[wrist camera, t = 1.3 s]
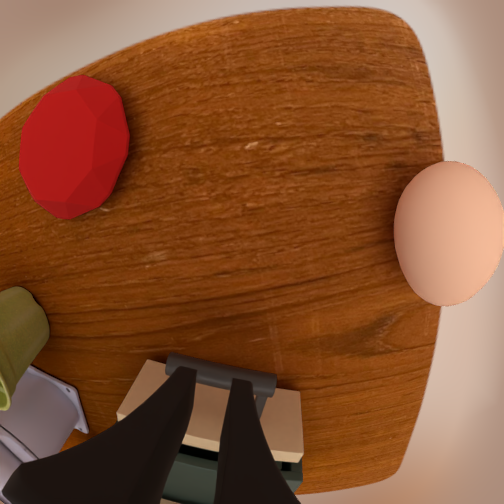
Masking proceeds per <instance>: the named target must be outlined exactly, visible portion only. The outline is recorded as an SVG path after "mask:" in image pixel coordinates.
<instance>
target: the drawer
mask: <svg viewBox="0 0 504 504" xmlns="http://www.w3.org/2000/svg"><path fill="white" fill-rule="evenodd" d="M179 366H184V367H188V368H192V369H196V370H197V378H196V387H195V397H194V406H193V410H192V414H191V418H190V421H189V425H188V429H187V432H186V434H185V437H184V439H183V441H182V444H181V446H180V449H179V451H178V453H182V454H186V455H190V456H194V457H198V458H203V459H207V460H212V461H217V462H218V456H219V445H220V436H221V431H222V426H223V421H224V416H225V411H226V407H227V402H228V398H229V393H230V388H231V384H232V379H233V378H237V379H242V380H247V381H251V382H252V384H253V393H254V399H255V404H256V408H257V413H258V416H259V420H260V423H261V426H262V429H263V432H264V435H265V438H266V441H267V443H268V446H269V448H270V451H271V453H272V455H273V457H274V460H275V462H276V464H277V466H278V468H279V470H280V471H281V469H282V461H284V462H296V463H298V462H299V461H300V459H301V457H302V456H303V454H304V446H303V430H302V414H301V400H300V392H299V391H293V390H286V389H279V388H276V383H277V375H276V374H273V373H267V372H261V371H256V370H250V369H245V368H240V367H235V366H230V365H225V364H220V363H216V362H211V361H207V360H203V359H198V358H194V357H190V356H186V355H182V354H178V353H174V352H170V354H169V356H168V358H167V362H166V364H163V363H159V362H155V361H152V360H149V359H147V361H146V362H145V364H144V366H143V368H142V369H141V371H140V373H139V374H138V376H137V378H136V380H135V381H134V383H133V385H132V386H131V388H130V390H129V392H128V393H127V395H126V397H125V399H124V400H123V402H122V404H121V406H120V407H119V409H118V411H117V418H118V422H119V421H120V420H122V419H123V418H125V417H126V416H127V415H128V414H130V413H131V412H132V411H133V410H135V409H136V408H137V407H138V406H140V405H141V404H142V403H143V402H144V401H145V400H147V399H148V398H149V397H150V396H151V395H152V394H153V393H154V392H155V391H156V390H157V389H158V388H159V387H160V386H161V385H162V384H163V383H164V382H165V381H166V380H167V379H168V378H169V377H170V375H171V374H172V373H173V372H174V371H175V370H176V368H177V367H179Z"/></svg>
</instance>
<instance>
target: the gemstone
mask: <svg viewBox="0 0 504 504" xmlns="http://www.w3.org/2000/svg"><path fill="white" fill-rule="evenodd" d="M129 139H130V134H129V129H128V125H127V121H126V117H125V112H124V108H123V103H122V98H121V96H120V95H119V94H118V93H117V91H116V90H115V89H114V87H113V86H111V85H109V84H106V83H104V82H101V81H98V80H96V79H93V78H90V77H88V76H85V75H79V76H74V77H70V78H68V79H67V80H65V81H64V82H62V83H61V84H59V85H58V86H56V87H55V88H54V89H52V90H51V91H49V92H48V93H47V94H45V95H44V96H43V98H42V99H41V100H40V102H39V103H38V104H37V106H36V107H35V109H34V110H33V112H32V113H31V115H30V116H29V118H28V119H27V121H26V123H25V124H24V126H23V128H22V135H21V144H20V157H19V171H20V173H21V175H22V178H23V180H24V182H25V184H26V186H27V189H28V191H29V192H30V194H31V196H32V198H33V199H34V201H35V202H36V203H37V204H39V205H40V206H41V207H43V208H44V209H45V210H47V211H48V212H49V213H51V214H52V215H54V216H55V217H56V218H61V219H72V218H74V217H77V216H79V215H81V214H83V213H86V212H88V211H90V210H93V209H95V208H98V207H100V206H101V205H102V204H103V203H104V201H105V200H106V199H107V198H108V197H109V196H110V195H111V193H112V191H113V188H114V186H115V183H116V181H117V179H118V176H119V174H120V172H121V169H122V167H123V165H124V162H125V160H126V158H127V156H128V149H129Z"/></svg>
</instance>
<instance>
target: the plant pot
mask: <svg viewBox="0 0 504 504" xmlns="http://www.w3.org/2000/svg"><path fill="white" fill-rule="evenodd" d="M49 334H50V329H49V324H48V320H47V317H46V315H45V312H44V311H43V309H42V307H41V306H39V305H38V304H37V303H36V302H35V300H34V299H33V297H32V294H31V293H30V292H29V291H27V290H26V289H24V288H22V287H19V286H15V287H12V288H9V289H7V290H4V291H2V292H0V410H3V411H7V410H8V409H9V408H10V406H11V402H12V400H11V397H12V396H13V394H14V392H15V390H16V385H17V383H18V382H19V380H20V379H21V377H22V376H23V374H24V373H25V371H26V370H27V368H28V367H29V366H30V364H31V363H32V361H33V360H34V359H35V357H36V356H37V354H38V353H39V352H40V350H41V349H42V348H43V346H44V345H45V344H46V342H47V340H48V338H49Z"/></svg>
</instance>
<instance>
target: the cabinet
mask: <svg viewBox="0 0 504 504" xmlns="http://www.w3.org/2000/svg"><path fill="white" fill-rule="evenodd" d="M116 423H118V420H117V422H116ZM116 423H115V424H116ZM217 467H218V462H217V461H212V460H207V459H203V458H198V457H194V456H190V455H186V454H182V453H178V454H177V456H176V458H175V461H174V463H173V466H172V468H171V471H170V473H169V475H168V478H167V481H166V484H165V487H164V490H163V494H162V499H165V500H169V501H173V502H176V503H180V504H213V502H214V497H215V489H216V479H217ZM281 473H282V475H283V477H284V479H285V480H286V482H287V484H288V486H289V487H290V489H291V490H292V492H293V493H294V492H295V491H296V490H297V488H298V487H299V486H300V484H301V483H302V482H303V473H302V457H301V459H300V461H299V462H298V463H296V462H284V461H282V469H281Z"/></svg>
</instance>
